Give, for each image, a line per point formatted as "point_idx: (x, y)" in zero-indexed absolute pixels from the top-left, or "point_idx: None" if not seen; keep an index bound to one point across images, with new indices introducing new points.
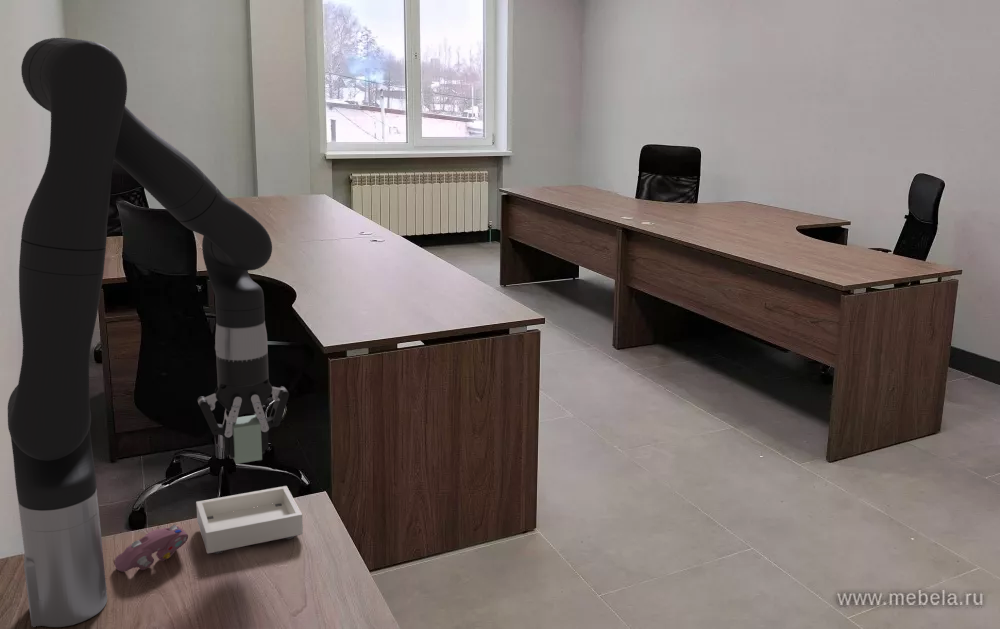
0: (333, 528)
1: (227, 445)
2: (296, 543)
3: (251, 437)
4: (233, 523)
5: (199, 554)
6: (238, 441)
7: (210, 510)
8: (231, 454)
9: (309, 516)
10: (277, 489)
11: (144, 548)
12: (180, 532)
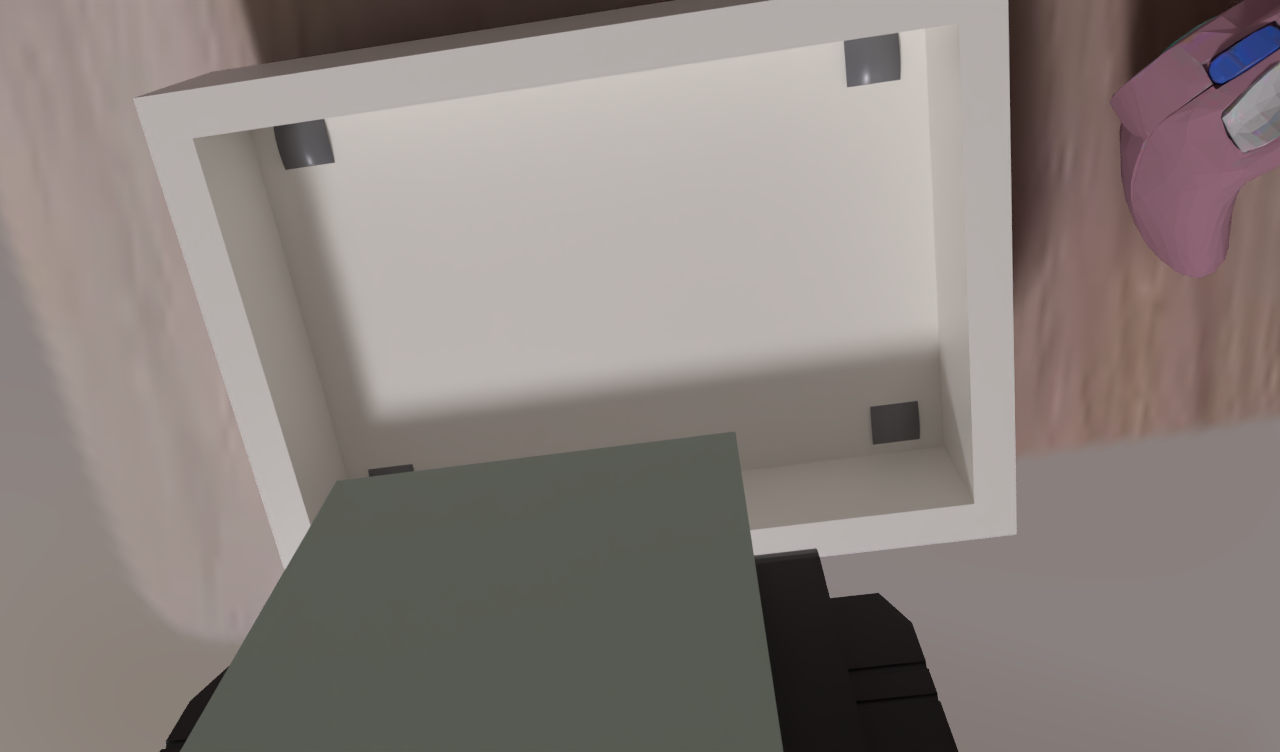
0: (16, 190)
1: (889, 718)
2: (281, 40)
3: (386, 746)
4: (732, 295)
5: None
6: (687, 678)
7: (894, 471)
8: (804, 577)
9: (203, 397)
10: None
11: None
12: (1218, 50)
